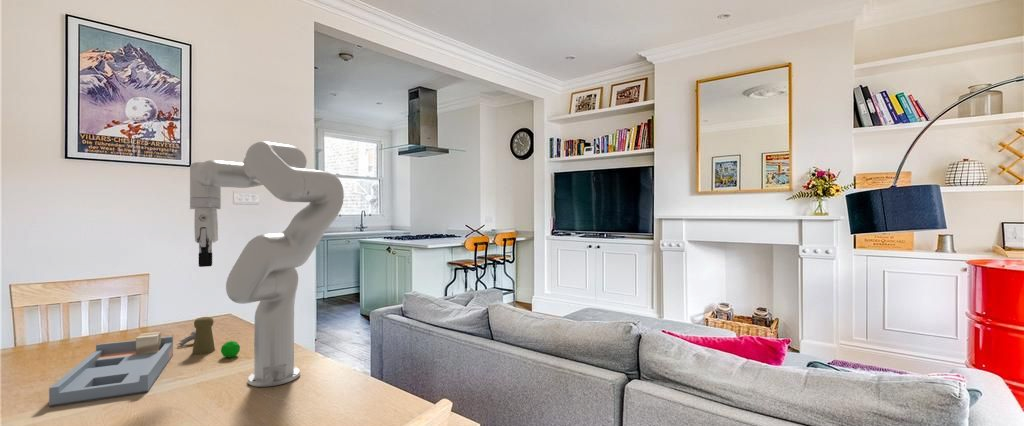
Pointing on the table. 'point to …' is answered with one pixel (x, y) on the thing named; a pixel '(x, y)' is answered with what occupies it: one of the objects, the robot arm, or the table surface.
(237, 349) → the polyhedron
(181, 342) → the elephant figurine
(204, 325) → the cork
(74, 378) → the box
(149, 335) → the maple block
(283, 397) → the table surface
